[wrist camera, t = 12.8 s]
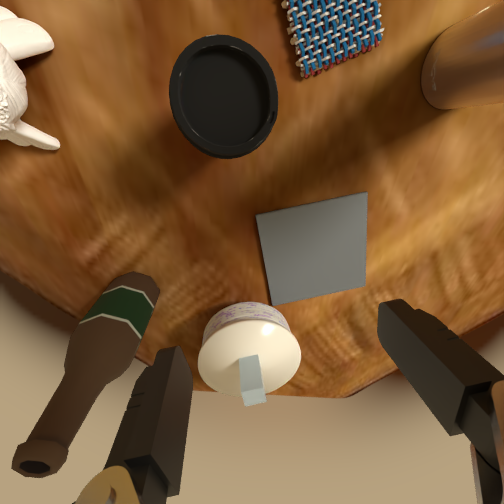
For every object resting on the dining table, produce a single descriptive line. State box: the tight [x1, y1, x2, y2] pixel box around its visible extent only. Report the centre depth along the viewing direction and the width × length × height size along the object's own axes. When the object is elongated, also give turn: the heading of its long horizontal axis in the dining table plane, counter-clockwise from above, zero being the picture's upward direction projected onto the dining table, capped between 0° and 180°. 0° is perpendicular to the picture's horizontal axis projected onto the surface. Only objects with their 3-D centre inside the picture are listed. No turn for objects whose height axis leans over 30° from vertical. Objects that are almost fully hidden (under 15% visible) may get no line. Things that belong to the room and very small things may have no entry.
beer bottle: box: [12, 272, 160, 478], centre depth 29 cm, size 8×8×24 cm
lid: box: [198, 319, 301, 406], centre depth 36 cm, size 16×16×6 cm
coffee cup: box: [169, 34, 278, 159], centre depth 24 cm, size 8×8×15 cm
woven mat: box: [281, 0, 384, 78], centre depth 27 cm, size 10×11×2 cm
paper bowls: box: [202, 302, 291, 345], centre depth 42 cm, size 15×15×8 cm
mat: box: [256, 192, 368, 306], centre depth 40 cm, size 17×17×1 cm
